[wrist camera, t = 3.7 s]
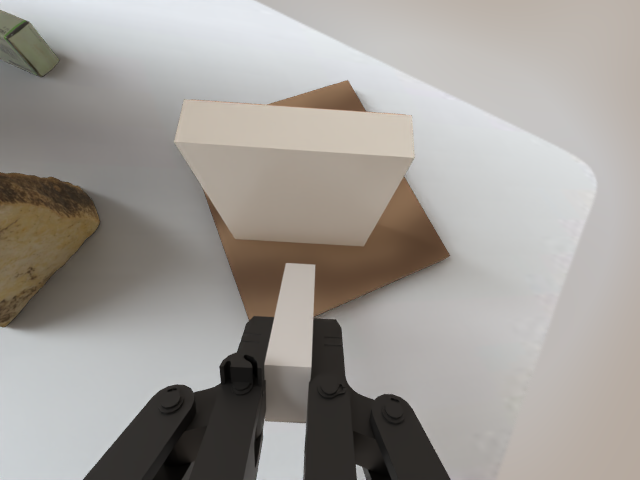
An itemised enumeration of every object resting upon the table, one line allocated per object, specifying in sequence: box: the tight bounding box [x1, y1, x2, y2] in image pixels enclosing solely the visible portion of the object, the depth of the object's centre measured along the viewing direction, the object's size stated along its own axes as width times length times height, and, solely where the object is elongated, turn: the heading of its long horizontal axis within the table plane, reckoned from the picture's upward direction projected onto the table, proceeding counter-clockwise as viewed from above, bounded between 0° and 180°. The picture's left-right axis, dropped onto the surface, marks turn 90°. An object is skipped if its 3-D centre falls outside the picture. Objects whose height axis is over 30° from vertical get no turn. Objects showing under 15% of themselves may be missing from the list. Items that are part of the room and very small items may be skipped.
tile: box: [174, 99, 415, 246], centre depth 19 cm, size 2×10×12 cm, turn 87°
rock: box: [0, 172, 100, 327], centre depth 21 cm, size 11×9×10 cm
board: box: [202, 80, 450, 321], centre depth 26 cm, size 19×16×1 cm
